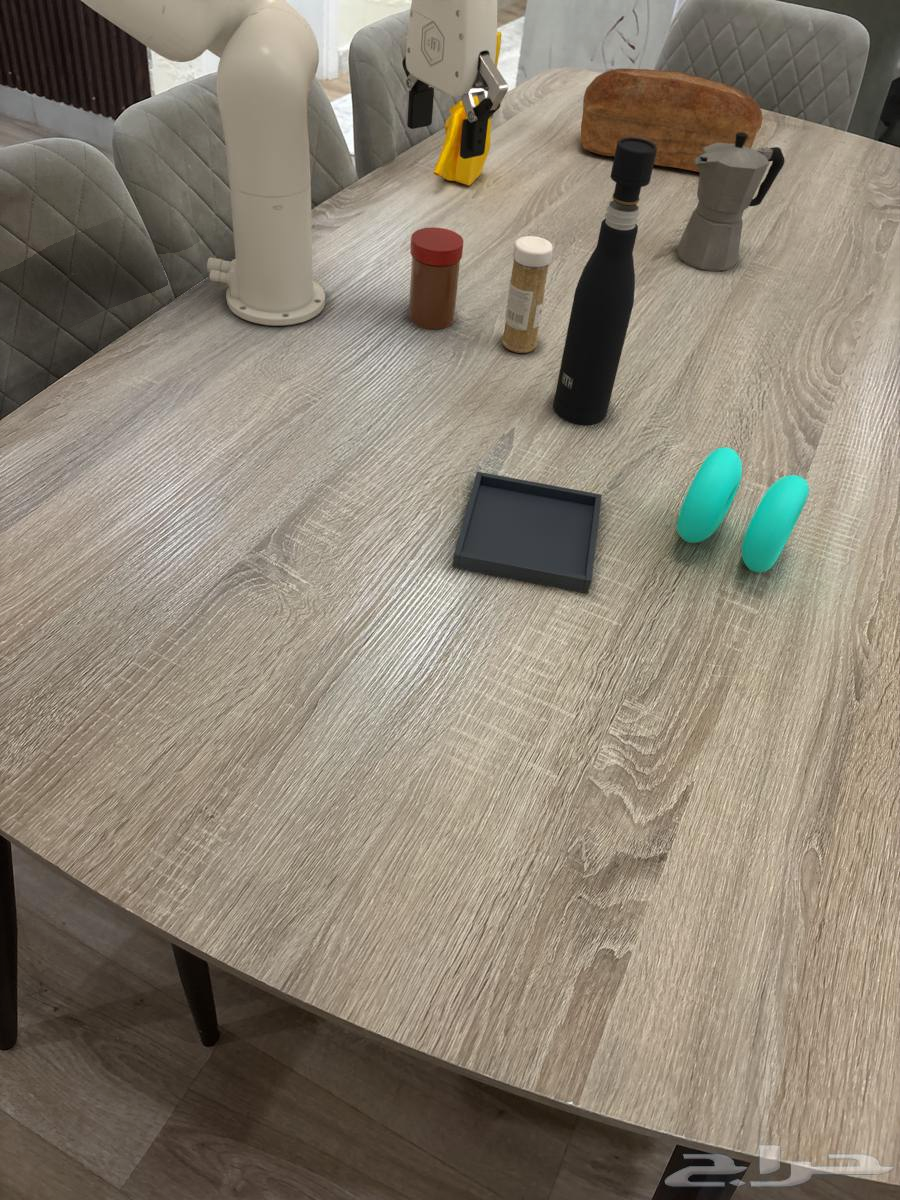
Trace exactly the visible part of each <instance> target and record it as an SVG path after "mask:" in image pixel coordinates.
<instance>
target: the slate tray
mask: <svg viewBox="0 0 900 1200" xmlns="http://www.w3.org/2000/svg"><path fill="white" fill-rule="evenodd" d="M602 497H603V495H602V494H601V493H595V492H590V491H585V490H579V489H573V488H568V487H564V486H557V485H552V484H547V483H541V482H536V481H531V480H526V479H521V478H514V477H509V476H504V475H498V474H493V473H489V472H483V471H476V474H475V477H474V481H473V484H472V488H471V491H470V495H469V498H468V502H467V505H466V510H465V514H464V517H463V520H462V524H461V528H460V531H459V534H458V538H457V542H456V545H455V549H454V553H453V558H452V560H453V561H452V568H455V569H461V570H466V571H472V572H477V573H481V574H487V575H492V576H495V577H496V576H497V577H502V578H508V579H511V580H518V581H522V582H528V583H533V584H539V585H543V586H548V587H554V588H558V589H563V590H568V591H575V592H580V593H585V594H588V593H589V592H590V587H591V584H592V581H593V580H592V579H593V571H594V565H595V564H594V562H595V555H596V548H597V547H596V546H597V539H598V538H597V537H598V531H599V530H598V529H599V521H600V513H601V505H602Z"/></svg>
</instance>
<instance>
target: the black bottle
mask: <svg viewBox="0 0 900 1200" xmlns="http://www.w3.org/2000/svg"><path fill="white" fill-rule="evenodd" d="M656 152H657V147H656V146H655V144H653V143H652V142H650V141H647V140H644V139H640V138H623V139H620V140H619V141H618V142H617V146H616V151H615V156H614V157H613V161H612V167H611V170H610V171H611V172H610V179H611V180H612V181H613V182H614V183H615V185H614V186H615V187H614V191H613V194H612V197H611V198H612V200H610V201H609V202H608V205H607V206H606V210H605V211H606V213H605V214H604V219H603V220H601V222H600V223H601V224H600V228H599V232H598V238H597V243H596V246H595V248H594V250H593V251H592V253H591V255H590V257H589V259H588V260H587V262H586V264H585V266H584V267H583V270H582V272H581V274H580V277H579V278H578V281H577V285H576V287H575V289H574V295H573V300H572V306H571V310H570V315H569V319H568V320H569V321H568V326H567V331H566V335H565V341H564V347H563V352H562V356H561V357H562V358H561V362H560V367H559V372H558V378H557V383H556V388H555V395H554V399H553V403H552V408H553V410H554V412H555V414H557V415H558V417H559V418H561V419H563V420H565V421H566V422H569V423H571V424H575V425H582V426H583V425H585V426H586V425H587V426H588V425H595V424H598V423H600V422H602V421H604V419H605V418H606V416H607V414H608V410H609V406H610V402H611V398H612V394H613V390H614V386H615V381H616V378H617V373H618V370H619V369H618V368H619V365H620V362H621V356H622V353H623V349H624V344H625V340H626V336H627V332H628V327H629V324H630V319H631V315H632V311H633V308H634V303H635V288H636V287H635V284H636V273H635V263H634V254H633V252H634V249H635V244H636V239H637V235H638V230H639V226H638V224H637V223H638V222H639V221H638V220H639V218H638V217H639V216H640V210H639V209H640V207H639V205H638V204H639V202H640V195H641V189H642V188H643V187H646V186H648V185H649V184H650V181H651V177H652V174H653V170H654V166H655V164H654V161H655V156H656Z"/></svg>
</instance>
